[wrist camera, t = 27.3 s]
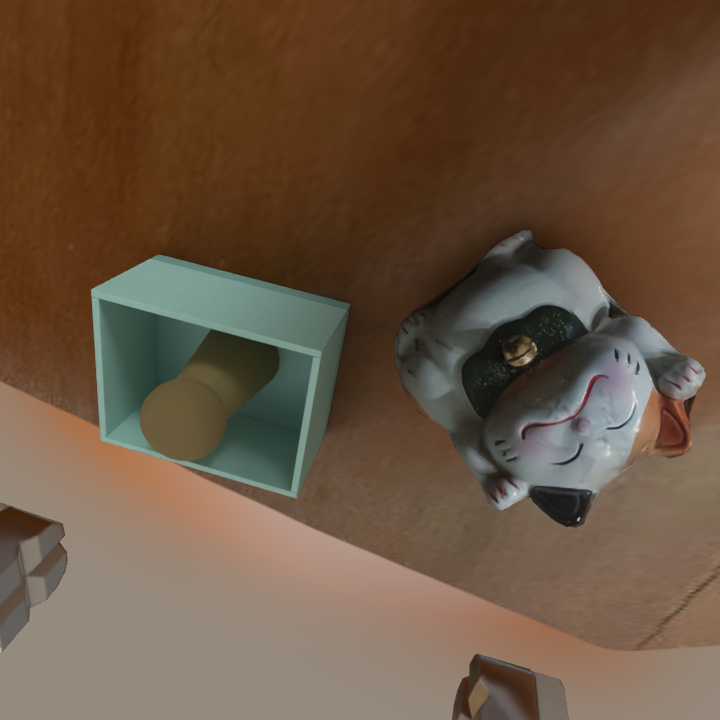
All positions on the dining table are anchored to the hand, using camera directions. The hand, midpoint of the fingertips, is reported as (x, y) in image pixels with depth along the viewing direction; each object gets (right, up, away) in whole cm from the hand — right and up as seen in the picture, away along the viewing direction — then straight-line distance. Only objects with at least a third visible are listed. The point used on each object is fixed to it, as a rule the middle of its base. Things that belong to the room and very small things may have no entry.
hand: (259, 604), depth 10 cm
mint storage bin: (-7, +9, +26) cm, 28 cm away
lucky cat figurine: (+14, +7, +27) cm, 31 cm away
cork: (-7, +5, +31) cm, 32 cm away
